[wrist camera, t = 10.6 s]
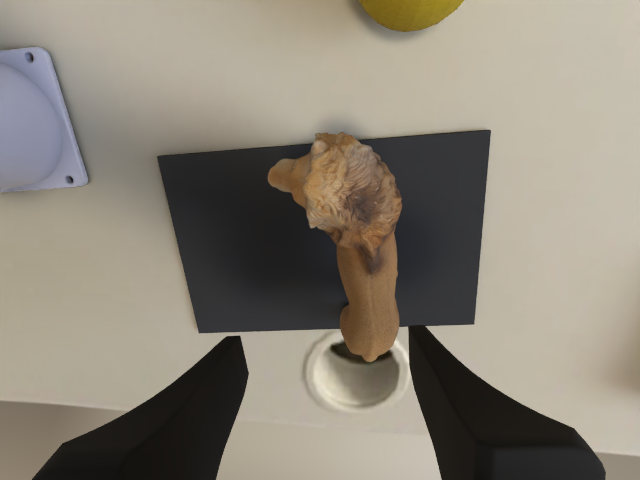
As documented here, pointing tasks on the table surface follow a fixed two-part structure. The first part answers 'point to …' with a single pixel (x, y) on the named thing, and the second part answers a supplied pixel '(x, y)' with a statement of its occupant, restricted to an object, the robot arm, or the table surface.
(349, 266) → the lion figurine
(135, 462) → the robot arm
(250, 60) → the table surface
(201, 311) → the desk mat
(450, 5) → the lemon
